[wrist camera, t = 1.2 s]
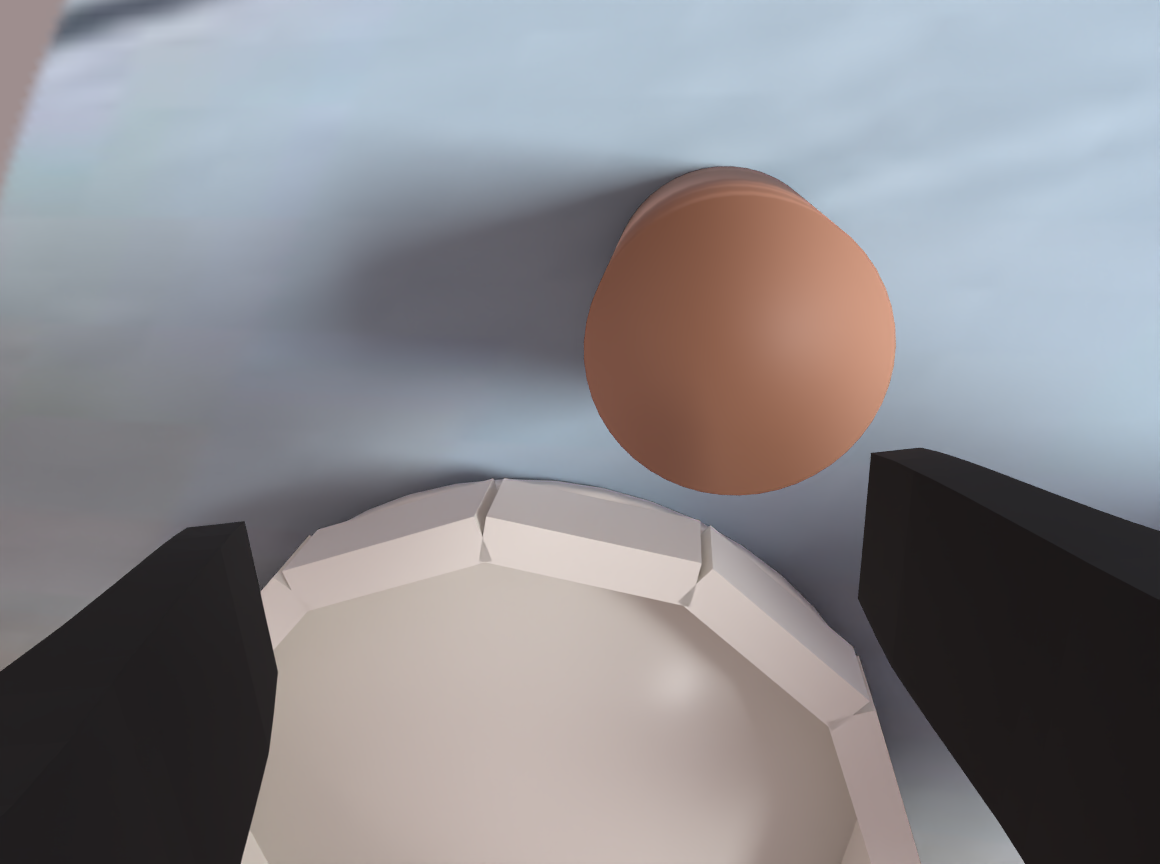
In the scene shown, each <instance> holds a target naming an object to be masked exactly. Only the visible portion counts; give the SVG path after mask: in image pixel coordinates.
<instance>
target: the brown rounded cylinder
mask: <svg viewBox="0 0 1160 864" xmlns="http://www.w3.org/2000/svg"><path fill="white" fill-rule="evenodd" d="M895 348H896V340H895V323H894V318H893V312H892V306H891V303H890V300H889V297H888V294H887V291H886V288H885V286H884V284H883V282H882V280H881V278H880V276H879V274H878V272H877V270H876V268H875V267H874V265H873V264H872V262H871V261H870V259H869V258H868V256H867V255H866V254H865V252H864V251H863V250H862V249H861V248H860V247H859V246H858V245H857V243H856V242H855V241H854V240H853V239H852V238H851V237H850V236H849V235H848V234H846V233H845V232H844V231H843V230H841V229H840V228H839V227H838V226H837V225H835V224H834V223H833V222H832V221H831V220H829V219H828V218H827V217H826V216H825V215H823V214H822V213H821V212H820V211H818V210H817V209H816V208H815V207H814V206H812V205H811V204H810V203H809V202H808V201H806V200H805V199H804V198H803V197H801V196H800V195H799V194H798V193H797V192H795V191H794V190H793V189H792V188H790V187H789V186H788V185H786V184H785V183H783V182H781V181H780V180H778V179H776V178H774V177H772V176H770V175H767V174H765V173H763V172H759V171H755V170H752V169H748V168H741V167H733V166H731V167H711V168H704V169H700V170H697V171H693V172H689V173H687V174H684V175H682V176H680V177H677V178H675V179H673V180H672V181H670V182H668V183H667V184H665V185H663V186H662V187H660V188H659V189H658V190H657V191H655V192H654V193H653V194H651V195H650V196H649V197H648V198H647V199H646V200H645V201H644V202H643V203H642V204H641V205H640V207H639V208H638V209H637V211H636V212H635V213H634V214H633V216H632V217H631V219H630V221H629V222H628V224H627V226H626V228H625V229H624V231H623V233H622V236H621V238H620V240H619V242H618V244H617V247H616V249H615V251H614V253H613V255H612V257H611V260H610V262H609V264H608V266H607V268H606V271H605V273H604V275H603V277H602V279H601V281H600V284H599V286H598V288H597V291H596V293H595V296H594V298H593V300H592V303H591V307H590V310H589V314H588V318H587V322H586V329H585V337H584V363H585V370H586V377H587V382H588V385H589V389H590V392H591V396H592V399H593V401H594V403H595V406H596V408H597V410H598V413H599V415H600V417H601V418H602V420H603V422H604V423H605V425H606V427H607V428H608V430H609V432H610V433H611V434H612V435H613V437H614V438H615V439H616V440H617V442H618V443H619V444H620V445H621V446H622V447H623V448H624V449H625V450H626V451H627V452H628V453H629V454H630V455H631V456H632V457H633V458H634V459H635V460H637V461H638V462H639V463H641V464H642V465H643V466H645V467H646V468H647V469H649V470H650V471H652V472H654V473H655V474H657V475H659V476H661V477H662V478H664V479H666V480H668V481H671V482H673V483H675V484H678V485H680V486H683V487H686V488H690V489H693V490H697V491H700V492H706V493H712V494H719V495H750V494H760V493H765V492H769V491H774V490H779V489H782V488H785V487H788V486H791V485H794V484H797V483H799V482H801V481H803V480H805V479H807V478H809V477H811V476H813V475H815V474H817V473H818V472H820V471H822V470H823V469H825V468H826V467H828V466H829V465H831V464H832V463H834V462H835V461H836V460H837V459H838V458H840V457H841V456H842V455H843V454H845V453H846V452H847V451H848V450H849V449H850V448H851V447H852V446H853V445H854V443H855V442H856V441H857V440H858V439H859V438H860V437H861V436H862V434H863V433H864V432H865V430H866V429H867V428H868V426H869V425H870V423H871V422H872V421H873V419H874V417H875V415H876V413H877V411H878V410H879V408H880V406H881V404H882V402H883V399H884V397H885V394H886V392H887V389H888V386H889V383H890V379H891V375H892V371H893V367H894V358H895Z"/></svg>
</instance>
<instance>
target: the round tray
mask: <svg viewBox="0 0 1160 864" xmlns="http://www.w3.org/2000/svg"><path fill="white" fill-rule="evenodd" d="M260 593H261V598H262V602H263V607H264V611H265V616H266V620H267V625H268V629H269V634H270V638H271V643H272V647H273V651H274V656H275V660H276V665H277V669H278V678H277V688H276V698H275V708H274V717H273V725H272V733H271V741H270V749H269V755H268V759H267V763H266V767H265V771H264V775H263V779H262V783H261V787H260V791H259V795H258V799H257V803H256V807H255V811H254V815H253V819H252V823H251V826H250V830H249V834H248V838H247V842H246V845H245V849H244V853H243V857H242V861H241V864H921V862H920V859H919V855H918V852H917V848H916V845H915V842H914V838H913V835H912V831H911V828H910V825H909V821H908V818H907V814H906V811H905V808H904V804H903V801H902V797H901V794H900V791H899V787H898V784H897V780H896V777H895V774H894V770H893V767H892V763H891V760H890V756H889V753H888V750H887V746H886V743H885V739H884V736H883V733H882V729H881V726H880V722H879V719H878V716H877V712H876V709H875V706H874V703H873V699H872V696H871V693H870V690H869V687H868V683H867V680H866V677H865V674H864V671H863V667H862V664H861V661H860V658H859V656H856V655H855V651H854V648H853V647H852V646H851V645H850V644H849V643H848V642H847V641H845V640H844V639H843V638H842V637H841V636H839V635H838V634H837V633H836V632H835V631H834V630H832V629H831V628H830V627H829V626H828V625H827V623H826V622H825V621H824V620H823V618H822V617H821V616H820V614H819V613H818V612H817V611H816V609H815V608H814V607H813V606H812V605H811V604H810V603H809V602H808V601H807V600H806V599H805V598H804V597H803V596H802V595H801V594H800V593H799V592H798V591H797V590H796V589H795V588H794V587H793V586H792V585H791V584H790V583H789V582H788V581H787V580H786V579H785V578H784V577H783V576H782V575H781V574H779V573H778V572H777V571H775V570H774V569H773V568H771V567H770V566H769V565H767V564H766V563H765V562H763V561H762V560H761V559H759V558H758V557H757V556H755V555H754V554H753V553H751V552H750V551H749V550H747V549H746V548H745V547H743V546H742V545H740V544H739V543H737V542H735V541H733V540H732V539H730V538H728V537H726V536H725V535H723V534H721V533H719V532H718V531H717V530H715V529H714V528H713V527H712V526H711V525H710V526H707V525H705V524H703V523H702V522H700V520H697V519H693V518H691V517H688V516H686V515H683V514H681V513H679V512H676V511H674V510H671V509H669V508H667V507H664V506H662V505H659V504H657V503H654V502H652V501H648V500H645V499H641V498H638V497H634V496H630V495H627V494H623V493H620V492H616V491H612V490H609V489H605V488H600V487H593V486H587V485H580V484H574V483H567V482H561V481H553V480H521V479H507V478H504V479H500V480H494V479H493V478H492V479H489V480H485V481H478V482H468V483H457V484H452V485H448V486H443V487H439V488H435V489H430V490H426V491H421V492H417V493H412V494H409V495H406V496H404V497H401V498H398V499H395V500H393V501H390V502H387V503H385V504H382V505H379V506H377V507H374V508H371V509H368V510H367V511H365V512H363V513H361V514H359V515H357V516H355V517H353V518H352V519H350V520H348V521H345V522H342V523H339V524H335V525H332V526H328V527H325V528H321V529H318V530H317V531H316V532H315V533H314V534H313V536H310V535H309V536H308V537H307V538H306V539H305V541H304V542H303V543H302V544H301V545H300V546H299V548H298V549H297V550H296V551H295V552H294V553H293V554H292V556H291V557H290V558H289V559H288V560H287V561H286V563H285V564H284V565H283V566H282V567H281V568H280V570H279V571H278V572H277V573H276V574H275V575H274V577H273V578H272V579H271V580H270V581H269V582H268V584H267V585H266V586H265V587H264V588H263V590H262V591H261V592H260Z"/></svg>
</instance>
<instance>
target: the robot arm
mask: <svg viewBox="0 0 1160 864" xmlns="http://www.w3.org/2000/svg"><path fill="white" fill-rule="evenodd" d="M858 600H859V602H860V604H861V606H862V608H863V610H864V612H865V614H866V617H867V619H868V621H869V623H870V625H871V627H872V629H873V631H874V634H875V636H876V638H877V640H878V642H879V643H880V645H881V647H882V649H883V651H884V653H885V655H886V657H887V659H888V661H889V663H890V665H891V667H892V668H893V670H894V671H895V673H896V674H897V676H898V677H899V679H900V680H901V682H902V683H903V685H904V686H905V688H906V689H907V691H908V692H909V694H910V695H911V697H912V698H913V700H914V701H915V702H916V704H917V705H918V707H919V708H920V710H921V711H922V713H923V714H924V716H925V717H926V719H927V720H928V721H929V723H930V724H931V726H932V727H933V729H934V730H935V731H936V733H937V734H938V736H939V737H940V739H941V740H942V741H943V743H944V744H945V746H946V747H947V749H948V750H949V752H950V753H951V754H952V756H953V757H954V759H955V760H956V762H957V763H958V764H959V766H960V767H961V769H962V770H963V772H964V773H965V774H966V776H967V777H968V779H969V780H970V782H971V783H972V784H973V786H974V787H975V789H976V790H977V792H978V793H979V794H980V796H981V797H982V799H983V800H984V802H985V803H986V804H987V806H988V807H989V809H990V810H991V812H992V813H993V814H994V816H995V817H996V819H997V820H998V822H999V823H1000V825H1001V826H1002V828H1003V829H1004V831H1005V833H1006V834H1007V836H1008V837H1009V839H1010V840H1011V842H1012V844H1013V845H1014V847H1015V848H1016V850H1017V851H1018V853H1019V855H1020V856H1021V858H1022V859H1023V861H1024V863H1025V864H1160V531H1157V530H1154V529H1151V528H1148V527H1145V526H1142V525H1139V524H1136V523H1133V522H1130V521H1127V520H1124V519H1122V518H1119V517H1116V516H1113V515H1110V514H1108V513H1105V512H1102V511H1099V510H1096V509H1094V508H1091V507H1088V506H1086V505H1083V504H1080V503H1077V502H1075V501H1072V500H1069V499H1067V498H1064V497H1061V496H1059V495H1056V494H1053V493H1051V492H1048V491H1046V490H1043V489H1040V488H1038V487H1035V486H1032V485H1030V484H1027V483H1025V482H1022V481H1019V480H1017V479H1014V478H1011V477H1009V476H1006V475H1003V474H1001V473H998V472H996V471H993V470H990V469H987V468H985V467H982V466H979V465H976V464H974V463H971V462H968V461H965V460H962V459H959V458H956V457H953V456H950V455H947V454H944V453H940V452H937V451H932V450H928V449H924V448H913V449H904V450H895V451H886V452H877V453H871V461H870V472H869V483H868V494H867V505H866V516H865V527H864V538H863V549H862V560H861V571H860V582H859V593H858ZM277 678H278V669H277V665H276V660H275V656H274V651H273V647H272V643H271V638H270V634H269V629H268V625H267V620H266V616H265V611H264V607H263V602H262V598H261V593H260V589H259V584H258V580H257V575H256V571H255V566H254V562H253V557H252V553H251V548H250V544H249V539H248V535H247V530H246V526H245V521H244V522H235V523H225V524H216V525H207V526H198V527H189V528H186V529H185V530H183V531H181V532H180V533H178V534H177V535H175V536H174V537H173V538H171V539H170V540H169V541H167V542H166V543H165V544H163V545H162V546H161V547H159V548H158V549H157V550H156V551H154V552H153V553H152V554H151V555H149V556H148V557H147V558H146V559H144V560H143V561H142V562H141V563H140V564H138V565H137V566H136V567H135V568H133V569H132V570H131V571H130V572H129V573H127V574H126V575H125V576H124V577H122V578H121V579H120V580H119V581H118V582H116V583H115V584H114V585H113V586H111V587H110V588H109V589H108V590H106V591H105V592H104V593H103V594H101V595H100V596H99V597H98V598H96V599H95V600H94V601H93V602H91V603H90V604H89V605H88V606H86V607H85V608H84V609H83V610H81V611H80V612H79V613H78V614H77V615H75V616H74V617H73V618H72V619H70V620H69V621H68V622H67V623H65V624H64V625H63V626H61V627H60V628H59V629H57V630H56V631H55V632H53V633H52V634H51V635H49V636H48V637H47V638H45V639H44V640H42V641H41V642H40V643H38V644H37V645H36V646H34V647H33V648H32V649H30V650H29V651H28V652H26V653H25V654H24V655H22V656H21V657H19V658H18V659H17V660H15V661H14V662H13V663H11V664H10V665H9V666H7V667H6V668H5V669H3V670H2V671H0V864H241V861H242V857H243V853H244V849H245V845H246V842H247V838H248V834H249V830H250V826H251V823H252V819H253V815H254V811H255V807H256V803H257V799H258V795H259V791H260V787H261V783H262V779H263V775H264V771H265V767H266V763H267V759H268V755H269V749H270V741H271V733H272V725H273V717H274V708H275V698H276V688H277Z"/></svg>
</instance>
